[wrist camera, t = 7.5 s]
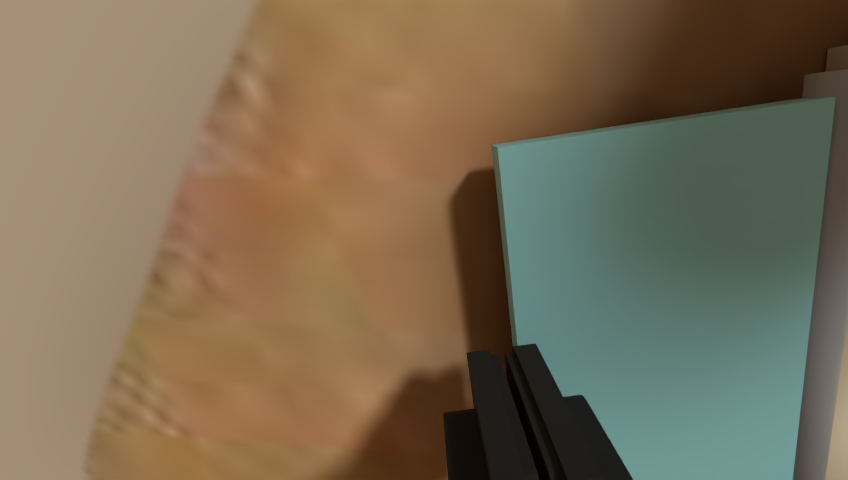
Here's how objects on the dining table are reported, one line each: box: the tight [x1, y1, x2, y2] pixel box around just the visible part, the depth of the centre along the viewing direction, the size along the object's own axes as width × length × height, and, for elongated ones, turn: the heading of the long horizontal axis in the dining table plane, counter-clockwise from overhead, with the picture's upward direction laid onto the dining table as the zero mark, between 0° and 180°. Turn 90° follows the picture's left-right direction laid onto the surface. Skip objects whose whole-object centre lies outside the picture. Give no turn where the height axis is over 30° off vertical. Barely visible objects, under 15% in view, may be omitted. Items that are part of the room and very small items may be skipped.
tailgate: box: [492, 68, 848, 480], centre depth 11 cm, size 1×13×8 cm
